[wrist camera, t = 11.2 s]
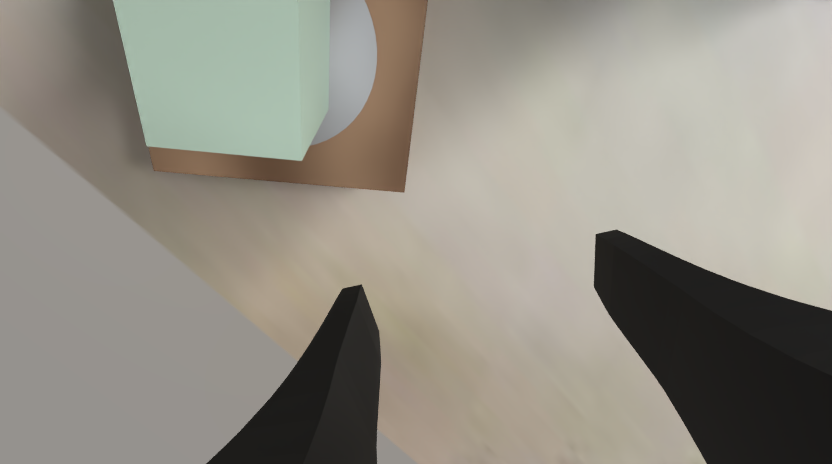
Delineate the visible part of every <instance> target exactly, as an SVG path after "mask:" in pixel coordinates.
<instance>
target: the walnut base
mask: <svg viewBox="0 0 832 464" xmlns="http://www.w3.org/2000/svg"><path fill="white" fill-rule="evenodd" d="M427 2H428V0H330V44H329V109H328V111H327V113H326V115H325V117H324V119H323V121H322V123H321V125H320V127H319V129H318V131H317V133H316V134H315V136H314V138H313V140H312V142H311V144H310V146H309V148H308V150H307V152H306V154H305V156H304V158H303V160H302V161H297V160H287V159H276V158H265V157H255V156H244V155H234V154H223V153H213V152H202V151H191V150H181V149H170V148H160V147H149V146H148V147H149V151H150V156H151V160H152V165H153V169H154V171H162V172H173V173H185V174H196V175H208V176H220V177H231V178H243V179H254V180H266V181H277V182H289V183H301V184H312V185H324V186H335V187H347V188H359V189H370V190H382V191H393V192H404V190H405V182H406V174H407V166H408V158H409V150H410V141H411V133H412V125H413V117H414V109H415V101H416V92H417V84H418V76H419V68H420V60H421V51H422V43H423V35H424V27H425V19H426V11H427Z"/></svg>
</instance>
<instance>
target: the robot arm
mask: <svg viewBox="0 0 832 464" xmlns="http://www.w3.org/2000/svg"><path fill="white" fill-rule="evenodd" d="M594 288H595V290H596V291H597V293H598V295H599V297H600V299H601V301H602V303H603V305H604V306H605V308H606V310H607V312H608V313H609V315H610V316H611V318H612V319H613V321H614V322H615V323H616V325H617V326H618V328H619V329H620V330H621V332H622V333H623V334H624V336H625V337H626V338H627V340H628V341H629V343H630V344H631V345H632V347H633V348H634V349H635V351H636V352H637V353H638V355H639V356H640V357H641V359H642V360H643V361H644V363H645V364H646V365H647V367H648V368H649V369H650V371H651V372H652V373H653V375H654V376H655V378H656V379H657V380H658V382H659V383H660V385H661V386H662V388H663V389H664V391H665V392H666V394H667V396H668V397H669V399H670V401H671V402H672V404H673V406H674V407H675V409H676V411H677V412H678V414H679V416H680V417H681V419H682V421H683V422H684V424H685V426H686V427H687V429H688V431H689V433H690V435H691V436H692V438H693V440H694V442H695V443H696V445H697V447H698V449H699V450H700V452H701V454H702V456H703V457H704V459H705V461H706V463H707V464H832V311H830V310H827V309H823V308H819V307H815V306H812V305H808V304H804V303H801V302H797V301H794V300H791V299H787V298H784V297H781V296H777V295H774V294H771V293H768V292H765V291H762V290H759V289H756V288H753V287H750V286H747V285H744V284H742V283H739V282H736V281H733V280H731V279H728V278H726V277H723V276H721V275H718V274H716V273H713V272H710V271H708V270H705V269H703V268H701V267H698V266H696V265H694V264H691V263H689V262H687V261H684V260H682V259H680V258H678V257H675V256H673V255H671V254H669V253H667V252H665V251H662V250H660V249H658V248H656V247H654V246H652V245H649V244H647V243H645V242H643V241H641V240H639V239H637V238H634V237H632V236H630V235H628V234H626V233H623V232H621V231H618V230H613V231H608V232H604V233H599V234H596V244H595V271H594ZM380 371H381V353H380V338H379V330H378V327H377V324H376V322H375V319H374V316H373V314H372V311H371V308H370V306H369V303H368V300H367V297H366V295H365V292H364V289H363V287H362V285H357V286H353V287H348V288H343V289H342V290H341V292H340V294H339V295H338V297H337V299H336V301H335V302H334V304H333V306H332V308H331V309H330V311H329V313H328V315H327V317H326V318H325V320H324V322H323V323H322V325H321V327H320V328H319V330H318V332H317V333H316V335H315V337H314V338H313V340H312V341H311V343H310V345H309V346H308V348H307V349H306V351H305V352H304V354H303V355H302V357H301V358H300V359H299V361H298V362H297V364H296V365H295V367H294V368H293V370H292V371H291V372H290V374H289V375H288V377H287V378H286V379H285V380H284V382H283V383H282V384H281V385H280V387H279V388H278V389H277V391H276V392H275V393H274V394H273V395H272V397H271V398H270V399H269V400H268V401H267V402H266V403H265V405H264V406H263V407H262V408H261V409H260V410H259V411H258V412H257V413H256V414H255V415H254V417H253V418H252V419H251V420H250V421H249V422H248V423H247V424H246V425H245V426H244V428H243V429H242V430H241V431H240V432H239V433H238V434H237V435H236V436H235V437H234V438H233V439H232V440H231V441H230V442H229V443H228V444H227V445H226V446H225V447H224V448H223V449H221V451H219V452H218V453H217V454H216V455H215V456H214V457H213V458H212V459H211V460H210V461H209V462H208V463H207V464H377V451H376V442H377V420H378V404H379V388H380Z"/></svg>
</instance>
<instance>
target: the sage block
mask: <svg viewBox="0 0 832 464" xmlns="http://www.w3.org/2000/svg"><path fill="white" fill-rule="evenodd" d="M113 3H114V7H115V12H116V16H117V20H118V25H119V29H120V33H121V38H122V42H123V46H124V51H125V55H126V59H127V64H128V68H129V72H130V77H131V81H132V85H133V90H134V94H135V98H136V103H137V107H138V111H139V116H140V120H141V124H142V129H143V133H144V137H145V142H146V146H149V147H160V148H170V149H181V150H191V151H202V152H213V153H223V154H234V155H244V156H255V157H265V158H276V159H287V160H297V161H302V160H303V158H304V156H305V154H306V152H307V150H308V148H309V146H310V144H311V142H312V140H313V138H314V136H315V134H316V133H317V131H318V129H319V127H320V125H321V123H322V121H323V119H324V117H325V115H326V113H327V111H328V109H329V44H330V0H113Z"/></svg>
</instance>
